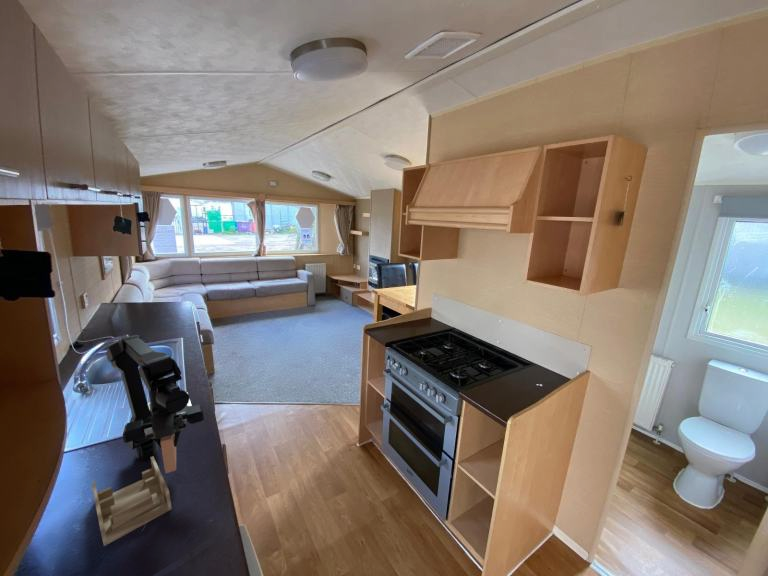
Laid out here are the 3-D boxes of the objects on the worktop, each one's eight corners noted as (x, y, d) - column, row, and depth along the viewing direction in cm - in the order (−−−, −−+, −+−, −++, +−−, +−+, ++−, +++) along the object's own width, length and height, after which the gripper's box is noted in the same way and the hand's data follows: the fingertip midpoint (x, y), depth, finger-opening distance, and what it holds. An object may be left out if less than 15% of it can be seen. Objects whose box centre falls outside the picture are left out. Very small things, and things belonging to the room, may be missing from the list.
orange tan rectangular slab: (165, 473, 88) (160, 442, 86) (166, 448, 98) (162, 419, 96) (176, 470, 89) (171, 438, 87) (176, 445, 99) (172, 416, 97)
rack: (96, 504, 88) (91, 482, 87) (156, 475, 98) (153, 456, 97) (104, 549, 76) (99, 525, 75) (172, 511, 86) (168, 490, 85)
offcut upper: (111, 514, 81) (110, 506, 81) (149, 495, 87) (148, 488, 86) (114, 525, 79) (112, 516, 78) (153, 504, 84) (151, 496, 84)
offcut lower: (111, 524, 81) (109, 516, 81) (157, 500, 88) (156, 492, 88) (113, 534, 79) (111, 526, 78) (161, 509, 86) (159, 501, 85)
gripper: (115, 425, 78) (125, 479, 81) (202, 403, 88) (208, 452, 91) (121, 404, 87) (130, 453, 90) (199, 386, 97) (205, 431, 100)
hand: (169, 447), depth 93 cm, fingers closed on orange tan rectangular slab, 2 cm apart
